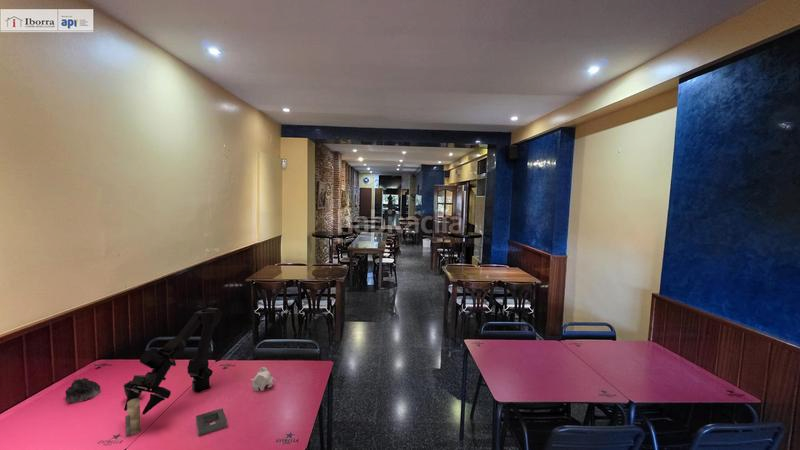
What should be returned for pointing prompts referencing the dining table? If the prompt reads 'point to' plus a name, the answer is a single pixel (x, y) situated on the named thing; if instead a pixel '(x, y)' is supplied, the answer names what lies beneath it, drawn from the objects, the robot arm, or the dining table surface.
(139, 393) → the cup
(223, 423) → the block
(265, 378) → the elephant figurine
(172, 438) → the dining table surface
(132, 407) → the keyed peg
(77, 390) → the dark grey rock
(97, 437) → the dining table surface
